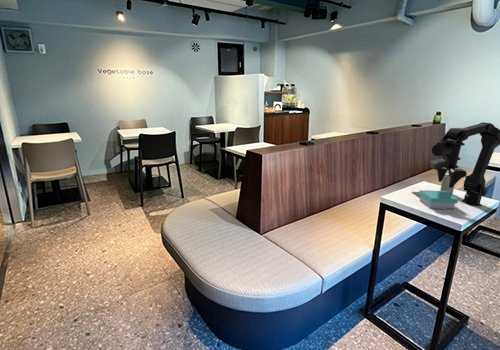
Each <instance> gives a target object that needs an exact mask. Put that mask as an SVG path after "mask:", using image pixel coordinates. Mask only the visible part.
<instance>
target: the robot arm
mask: <svg viewBox="0 0 500 350" xmlns="http://www.w3.org/2000/svg"><path fill="white" fill-rule="evenodd" d="M475 135H479V136H481V138H480V143H481V149H480V152H479V155H478V158H477V160H476V161H475V166H474V168H473V170H472V173H470V174H469V175H467V174H468V173H467V171H466V170H464V169H462V168H459V165H457V164H458V162H459V161H460V160H461V157H460V153H461V149H462V146H466V145H465V143H464V141H466V140H468V138H469V137H471V136H472V137H473V136H475ZM499 146H500V128H498V127H497V126H495V125H494V123H491V122H485V121H484V122H480V123H477V124H473V125H470V126H466V127H451V128H449V129H448V130H447V131H446V133H445V134H444V135H443V137H441V139H440V141H437V143H436V144H433V146H432V147H431V154H432V155H433V156H435V157H441V158H437V159H434V160H431V161H430V162H429V163H430V164H429V165H430V168H431V169H432V170H436V172H437V179H438V182H440V183H442V180H443V178H444V176H445V174H446V173H449V175H448V176H449V177H450V182H449V188H452V187H453V186H454V185H456V184H457V183H458V182H459V181H460V180H461V179H462V178H463V179H464V177H465V179H464V181H463V191H466V192H465V194H464V197H463V199H461V201H462V202H463V203H465V204H466V205H469V206H479V207H480V206H482V205H483V204H482V203H481V202H482V201H481V200H482V198H483V197H484V196H486V195H487V193H488V190H487V187H485V185H486V179H485V175H486V172H487V169H488V166H489V164H490V161H491V159H492V156H493V153H494V152H495V149H497V148H498V147H499ZM454 187H455V186H454Z"/></svg>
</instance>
